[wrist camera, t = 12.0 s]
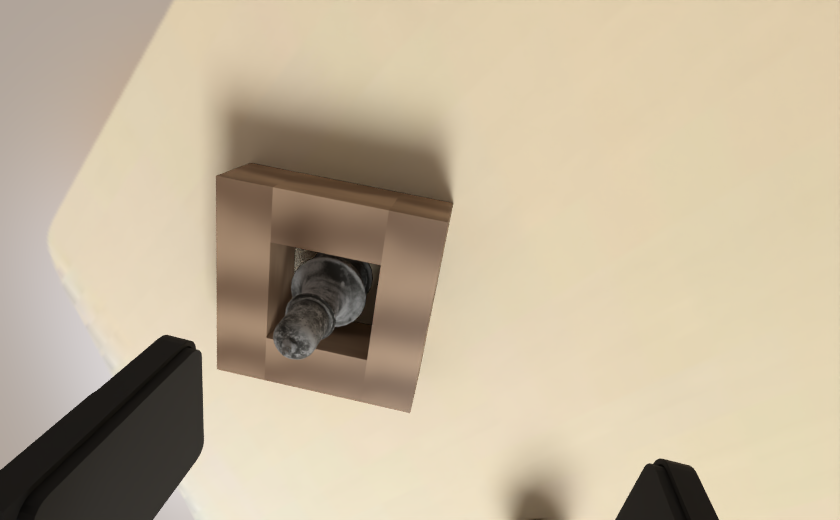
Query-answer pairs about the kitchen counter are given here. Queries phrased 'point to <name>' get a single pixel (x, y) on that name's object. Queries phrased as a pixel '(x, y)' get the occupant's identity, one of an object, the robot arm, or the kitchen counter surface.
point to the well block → (335, 235)
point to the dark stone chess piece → (321, 302)
